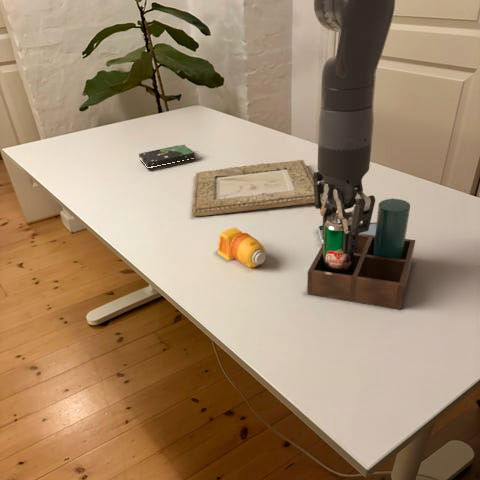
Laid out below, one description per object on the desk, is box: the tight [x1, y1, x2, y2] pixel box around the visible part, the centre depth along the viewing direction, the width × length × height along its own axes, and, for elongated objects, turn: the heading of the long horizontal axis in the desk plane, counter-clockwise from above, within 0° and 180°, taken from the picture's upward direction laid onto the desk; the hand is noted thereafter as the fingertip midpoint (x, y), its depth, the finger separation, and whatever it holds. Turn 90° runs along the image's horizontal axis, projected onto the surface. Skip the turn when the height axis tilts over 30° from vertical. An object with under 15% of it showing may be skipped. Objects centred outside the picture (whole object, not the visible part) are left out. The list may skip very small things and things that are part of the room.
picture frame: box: [191, 159, 322, 218], centre depth 117 cm, size 27×30×3 cm
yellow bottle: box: [217, 227, 266, 268], centre depth 89 cm, size 5×6×12 cm
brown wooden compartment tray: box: [306, 233, 416, 310], centre depth 81 cm, size 15×15×5 cm
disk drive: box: [138, 144, 196, 171], centre depth 140 cm, size 10×3×15 cm
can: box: [373, 198, 411, 259], centre depth 80 cm, size 5×5×12 cm
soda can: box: [322, 212, 354, 276], centre depth 77 cm, size 5×5×12 cm
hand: (338, 243), depth 76 cm, fingers open, 5 cm apart
